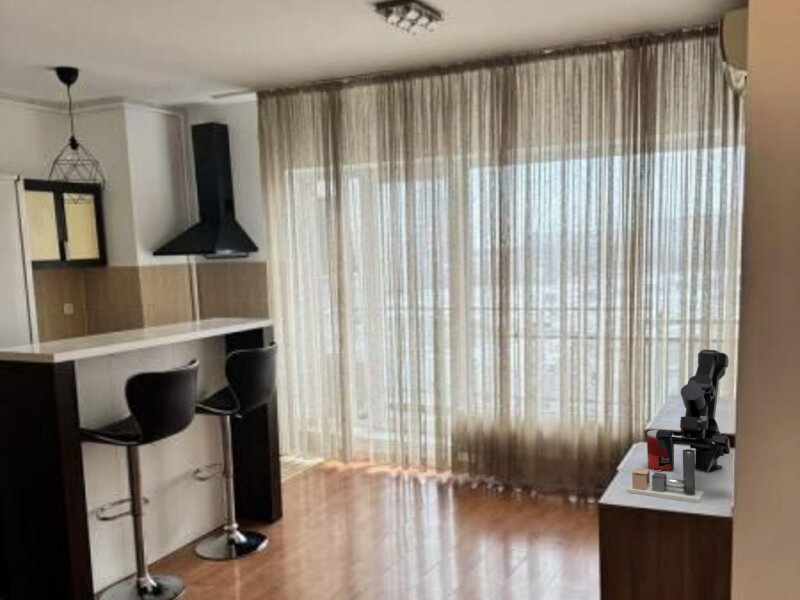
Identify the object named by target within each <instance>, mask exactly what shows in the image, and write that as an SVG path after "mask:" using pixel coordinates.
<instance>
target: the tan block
mask: <svg viewBox="0 0 800 600" xmlns="http://www.w3.org/2000/svg"><path fill="white" fill-rule="evenodd" d="M650 470H651V469H650V468H649V469H647V468H641V467H640V468H639V467H635V468H634V469H633V471H632V472H631V475H632V477H631V478H632V479H631V480H632V482H631V484H632V487H633V489H640V490H647V489H648V487H649V486H650V484H651V483H650V482H651V481H650V480H651V477H650V475H651V471H650Z"/></svg>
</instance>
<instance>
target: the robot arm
mask: <svg viewBox="0 0 800 600" xmlns="http://www.w3.org/2000/svg"><path fill="white" fill-rule="evenodd" d="M729 363H730V362H729V356H728V355H727V353H724V352H721V351H719V350H717V349H702V350H701V349H700V351H699V352H698V354H697V368H696V371H695V374H694V375H693V376H691V377H689V379H688V381H687V383H686V384H685V385H684V386H682V388H680V395H681V399H682V403H683V406H684V408H685V415H684V416H680V422H679V423H680V425H679V429H680V431H679V432H680V434H681V435H674V433H673V431H672V430H669V429H668V430H667V429H657V430H658V431H657V433H656V439H657V442H658V445H659V446H660V447H663V449H664V450H667V452H668V457H669V462H670V466H671V467H673V460H674V461H675V444H685V445H689V446H690V447H689V448H690V449H695V469H698V470H701V471H705V472H707V473H708V472H709V473H711V472H714V471H716V470H719V469H722V468H723V465H720V464H718V459H719V458H720V457H725V455H729V454H730V453H731V445H730V444H731V443H730V439H729V437H728V436H727V435H722V434H721V431H720V430H719V426H718V423H717V421H716V412H717V411H716V410H717V402H718V393H719V383H720V380H721V379H723V377H724V376H725V375H726V371H727V368H728V367H729ZM673 446H674V447H673Z"/></svg>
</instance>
